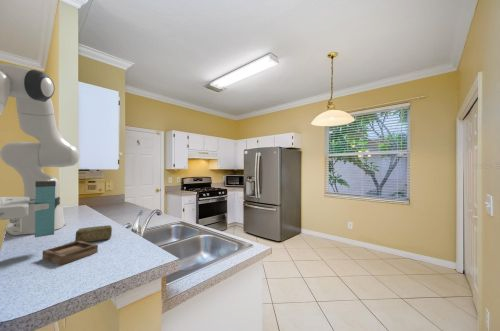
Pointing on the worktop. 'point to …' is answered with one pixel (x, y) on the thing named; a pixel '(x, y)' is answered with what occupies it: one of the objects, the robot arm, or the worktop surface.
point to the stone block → (94, 233)
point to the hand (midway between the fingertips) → (48, 204)
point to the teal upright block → (45, 216)
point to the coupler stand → (69, 252)
